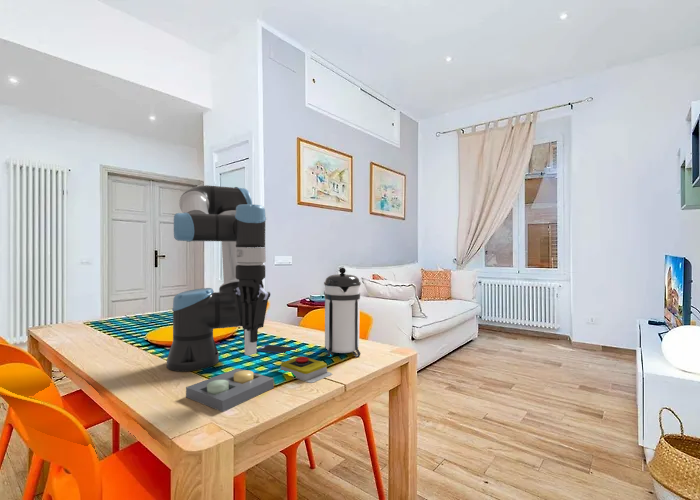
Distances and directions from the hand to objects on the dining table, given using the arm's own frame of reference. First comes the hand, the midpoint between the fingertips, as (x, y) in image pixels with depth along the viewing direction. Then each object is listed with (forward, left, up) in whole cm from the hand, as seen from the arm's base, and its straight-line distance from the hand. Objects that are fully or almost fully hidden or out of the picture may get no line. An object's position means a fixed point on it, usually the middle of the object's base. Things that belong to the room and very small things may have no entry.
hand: (250, 353), depth 93 cm
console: (-2, -4, -9) cm, 10 cm away
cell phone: (-18, +29, -10) cm, 35 cm away
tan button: (-2, 0, -9) cm, 9 cm away
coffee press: (+2, +40, -9) cm, 41 cm away
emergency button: (+4, +17, -10) cm, 20 cm away
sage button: (-2, -8, -9) cm, 12 cm away
